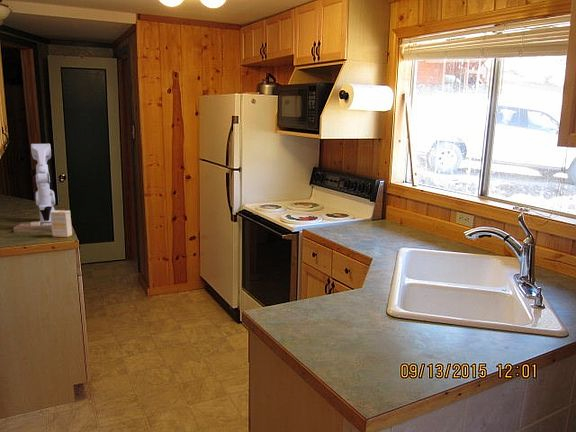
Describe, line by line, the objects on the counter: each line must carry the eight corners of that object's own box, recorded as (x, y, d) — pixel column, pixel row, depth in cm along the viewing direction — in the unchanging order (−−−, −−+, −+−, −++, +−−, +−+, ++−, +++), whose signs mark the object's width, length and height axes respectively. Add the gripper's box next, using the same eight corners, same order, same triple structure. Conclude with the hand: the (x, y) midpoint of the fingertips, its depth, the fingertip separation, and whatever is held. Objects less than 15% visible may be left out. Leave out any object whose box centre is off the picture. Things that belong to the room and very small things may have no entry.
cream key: (32, 225, 263) (32, 221, 263) (41, 225, 264) (41, 221, 264) (30, 227, 259) (30, 223, 259) (39, 226, 260) (38, 222, 260)
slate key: (44, 226, 265) (43, 223, 264) (52, 226, 265) (52, 222, 265) (41, 228, 261) (41, 224, 260) (50, 228, 261) (50, 224, 261)
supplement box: (72, 235, 251) (70, 210, 248) (67, 237, 246) (65, 212, 243) (57, 234, 251) (55, 209, 249) (52, 237, 247) (49, 211, 244)
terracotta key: (22, 227, 262) (21, 223, 262) (30, 227, 263) (30, 223, 263) (19, 229, 258) (19, 225, 258) (28, 229, 259) (27, 225, 259)
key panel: (21, 226, 266) (21, 222, 266) (57, 225, 270) (56, 221, 270) (13, 232, 254) (13, 227, 253) (51, 231, 258) (50, 226, 257)
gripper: (40, 193, 265) (42, 217, 268) (32, 198, 252) (34, 223, 255) (54, 193, 267) (56, 217, 270) (46, 197, 253) (49, 223, 256)
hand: (46, 220), depth 262 cm, fingers closed
